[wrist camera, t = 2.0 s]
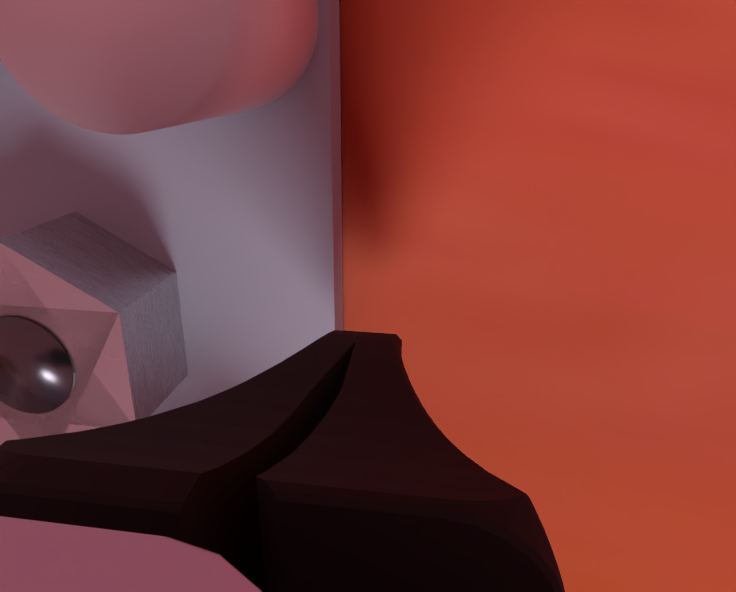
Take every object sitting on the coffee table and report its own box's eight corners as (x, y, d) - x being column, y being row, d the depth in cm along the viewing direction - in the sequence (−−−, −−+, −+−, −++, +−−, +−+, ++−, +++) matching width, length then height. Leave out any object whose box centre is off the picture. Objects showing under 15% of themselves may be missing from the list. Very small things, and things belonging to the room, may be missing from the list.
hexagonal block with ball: (230, 353, 15) (184, 409, 12) (73, 431, 16) (4, 493, 14) (117, 184, 14) (42, 209, 11) (-40, 285, 15) (-135, 326, 13)
